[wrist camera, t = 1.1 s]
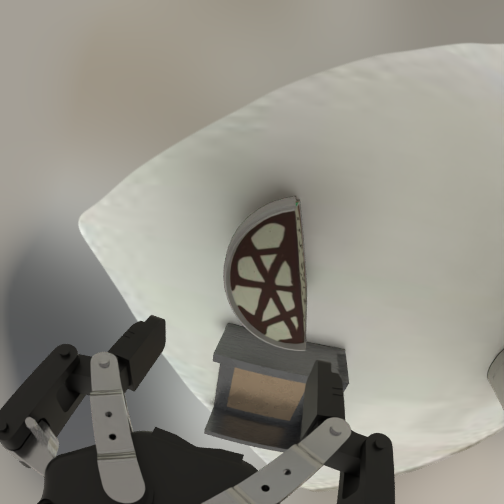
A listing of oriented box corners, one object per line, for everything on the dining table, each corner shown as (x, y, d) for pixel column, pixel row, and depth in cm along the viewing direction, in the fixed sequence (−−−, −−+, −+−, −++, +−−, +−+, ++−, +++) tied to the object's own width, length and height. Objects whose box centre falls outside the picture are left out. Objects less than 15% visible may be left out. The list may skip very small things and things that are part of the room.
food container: (237, 191, 28) (203, 210, 19) (298, 184, 26) (294, 200, 17) (253, 299, 32) (232, 355, 22) (307, 297, 30) (305, 355, 21)
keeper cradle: (345, 349, 32) (348, 383, 26) (303, 426, 38) (300, 454, 33) (228, 322, 33) (213, 353, 28) (215, 405, 40) (204, 433, 34)
